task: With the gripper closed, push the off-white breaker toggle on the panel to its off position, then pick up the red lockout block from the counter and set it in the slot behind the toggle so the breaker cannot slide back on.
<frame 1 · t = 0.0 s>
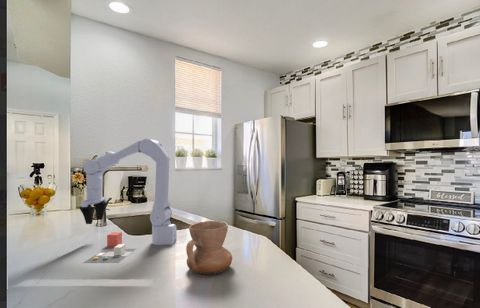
hand: (94, 221, 112), 10 cm above the worktop, tool pointing down, fingers open, 7 cm apart
ceramic jug: (208, 270, 86), on the worktop
breaker panel: (111, 259, 96), on the worktop
lockout block: (114, 248, 108), on the worktop
breaker toggle: (119, 249, 97), point 3 cm above the worktop, slide at 0.0 cm
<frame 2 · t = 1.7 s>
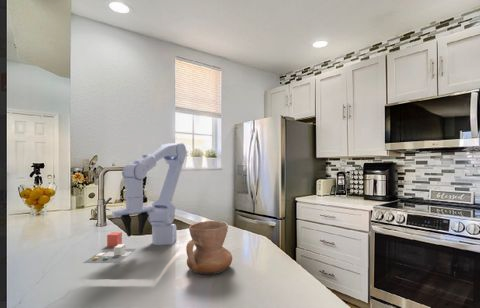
hand: (134, 234, 97), 8 cm above the worktop, tool pointing down, fingers open, 3 cm apart
nothing on the worktop moved.
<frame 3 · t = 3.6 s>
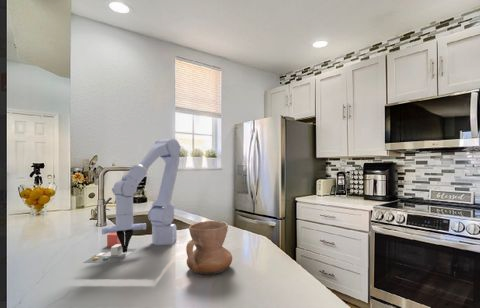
hand: (124, 251, 97), 2 cm above the worktop, tool pointing down, fingers closed
breaker toggle: (116, 249, 97), point 3 cm above the worktop, slide at 1.1 cm, touching gripper
everything else where it was.
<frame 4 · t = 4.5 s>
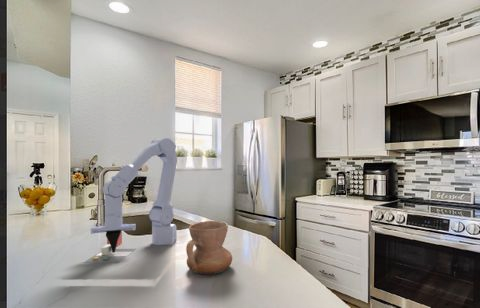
hand: (113, 251, 97), 2 cm above the worktop, tool pointing down, fingers closed
breaker toggle: (107, 249, 97), point 3 cm above the worktop, slide at 4.5 cm, touching gripper
everything else where it was.
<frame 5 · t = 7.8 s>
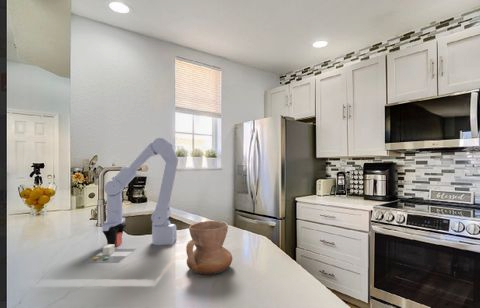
hand: (114, 244, 108), 2 cm above the worktop, tool pointing down, fingers closed on lockout block, 4 cm apart
lockout block: (114, 248, 108), on the worktop, touching gripper
breaker toggle: (108, 249, 97), point 3 cm above the worktop, slide at 4.0 cm
everything else where it was.
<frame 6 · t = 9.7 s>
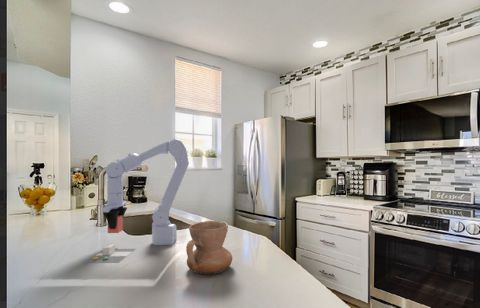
hand: (115, 227, 106), 9 cm above the worktop, tool pointing down, fingers closed on lockout block, 4 cm apart
lockout block: (115, 231, 106), point 7 cm above the worktop, touching gripper
everything else where it was.
when the fingers open (4 cm above the worktop, at t = 11.8 s): lockout block stays where it is, resting on breaker panel.
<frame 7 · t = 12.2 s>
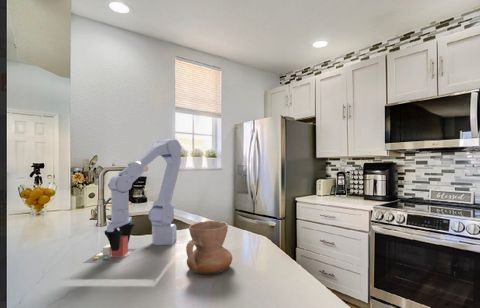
hand: (120, 246, 97), 4 cm above the worktop, tool pointing down, fingers open, 7 cm apart
lockout block: (120, 253, 97), point 2 cm above the worktop, touching breaker panel
everything else where it was.
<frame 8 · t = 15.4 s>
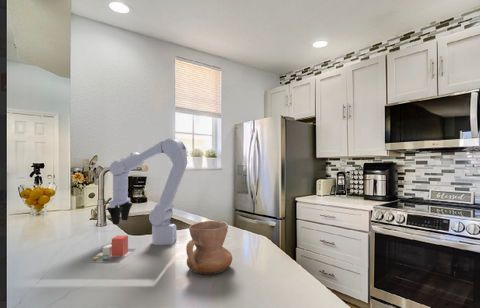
hand: (120, 222, 113), 9 cm above the worktop, tool pointing down, fingers open, 7 cm apart
nothing on the worktop moved.
at the end: breaker toggle slide at 4.0 cm; lockout block 0.1 cm from the target spot, point 1.6 cm above the worktop; lockout block tilted 0° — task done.
